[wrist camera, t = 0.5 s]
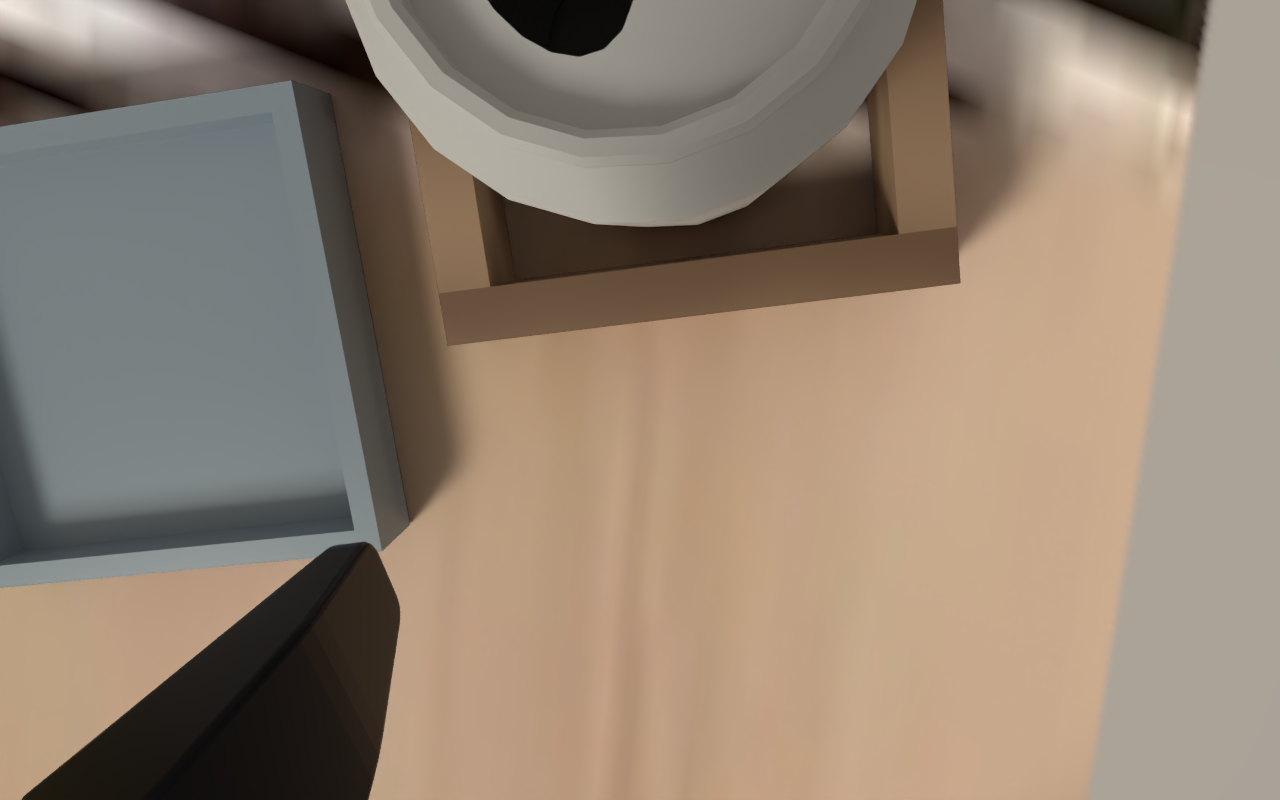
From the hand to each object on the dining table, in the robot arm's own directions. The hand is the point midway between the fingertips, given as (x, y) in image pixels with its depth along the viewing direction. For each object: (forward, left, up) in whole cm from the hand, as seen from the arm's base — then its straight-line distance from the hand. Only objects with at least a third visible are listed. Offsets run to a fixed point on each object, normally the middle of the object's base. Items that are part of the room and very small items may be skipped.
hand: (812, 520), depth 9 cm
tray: (+2, +15, -13) cm, 20 cm away
